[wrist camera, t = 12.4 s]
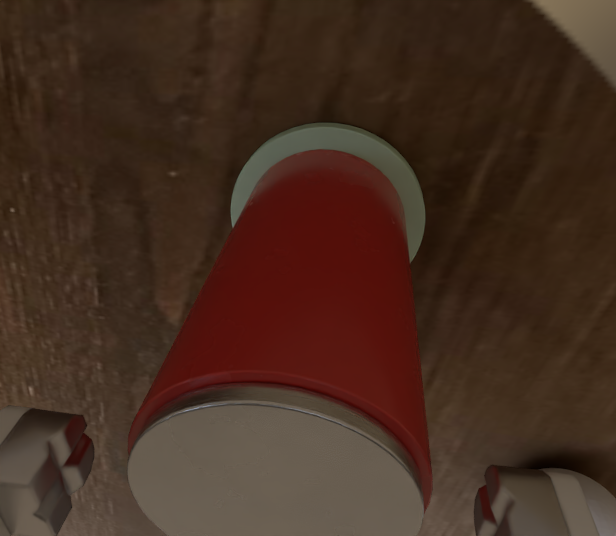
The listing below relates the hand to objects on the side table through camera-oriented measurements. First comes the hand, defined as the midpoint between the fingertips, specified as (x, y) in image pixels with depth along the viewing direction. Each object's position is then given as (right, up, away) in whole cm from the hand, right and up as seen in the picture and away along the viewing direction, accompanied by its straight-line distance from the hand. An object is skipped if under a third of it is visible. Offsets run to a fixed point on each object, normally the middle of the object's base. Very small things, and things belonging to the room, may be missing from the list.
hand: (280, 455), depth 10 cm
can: (+1, +5, +9) cm, 11 cm away
